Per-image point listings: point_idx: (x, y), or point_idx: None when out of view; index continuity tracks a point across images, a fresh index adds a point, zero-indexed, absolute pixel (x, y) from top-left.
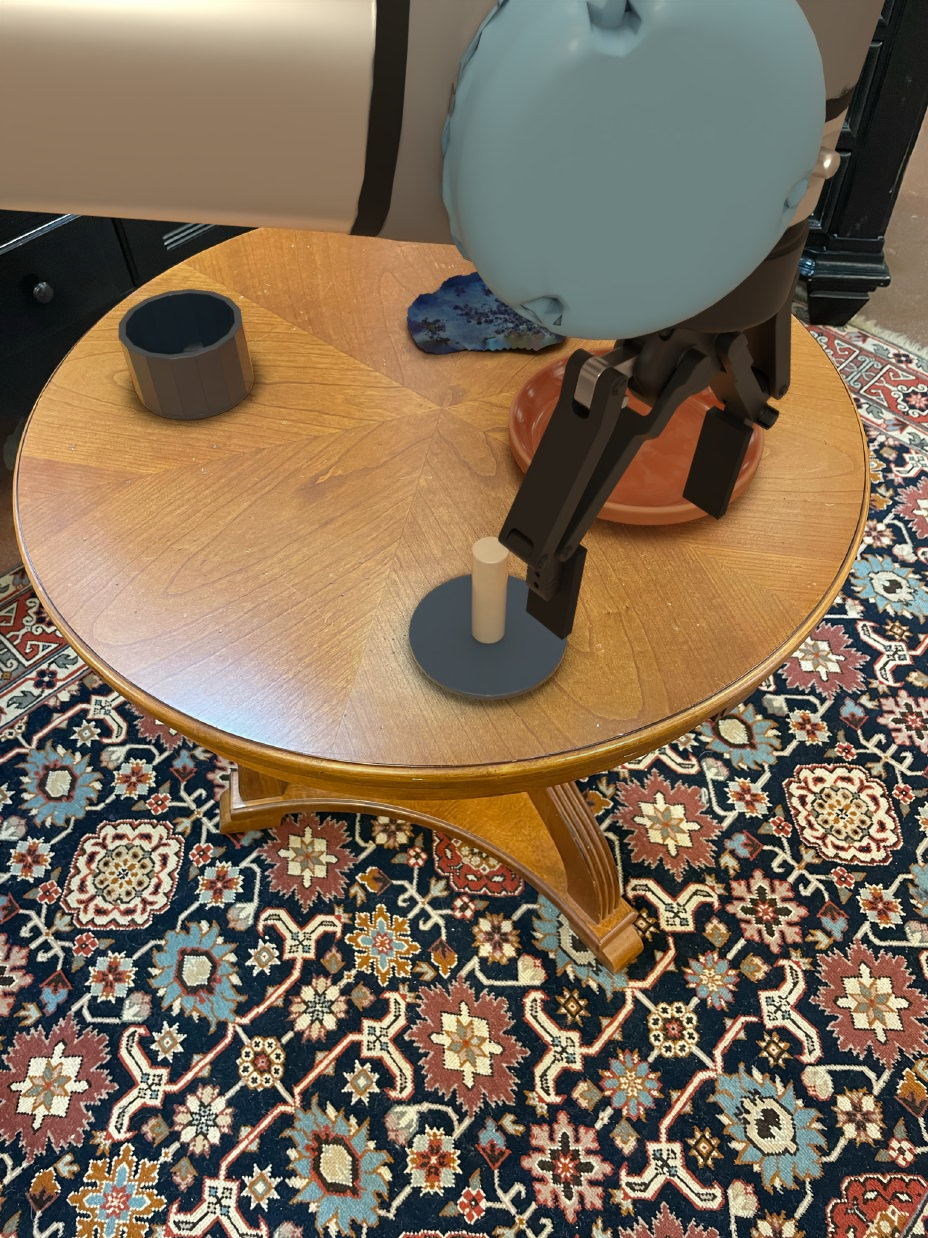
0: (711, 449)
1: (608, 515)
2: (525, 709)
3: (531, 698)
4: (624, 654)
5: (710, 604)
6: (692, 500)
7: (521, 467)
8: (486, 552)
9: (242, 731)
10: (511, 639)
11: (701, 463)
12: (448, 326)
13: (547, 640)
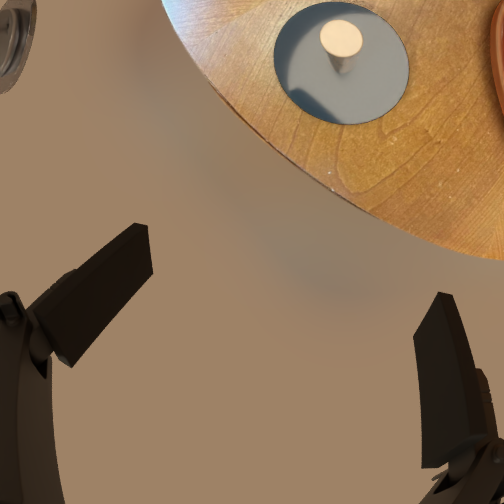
0: (445, 393)
1: (500, 98)
2: (307, 121)
3: (318, 119)
4: (398, 159)
5: (470, 198)
6: (431, 308)
7: (495, 11)
8: (334, 37)
9: (167, 6)
10: (347, 80)
11: (445, 359)
12: None
13: (366, 105)
